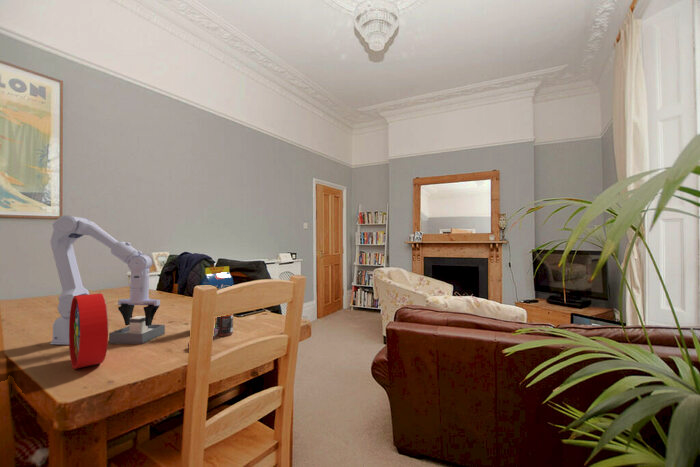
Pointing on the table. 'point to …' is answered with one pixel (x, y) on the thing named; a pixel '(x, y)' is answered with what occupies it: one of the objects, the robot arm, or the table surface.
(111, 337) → the walled box
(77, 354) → the toy clock
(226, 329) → the supplement bottle
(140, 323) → the plug
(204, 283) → the blue food package
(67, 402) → the table surface
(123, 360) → the table surface
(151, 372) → the table surface
